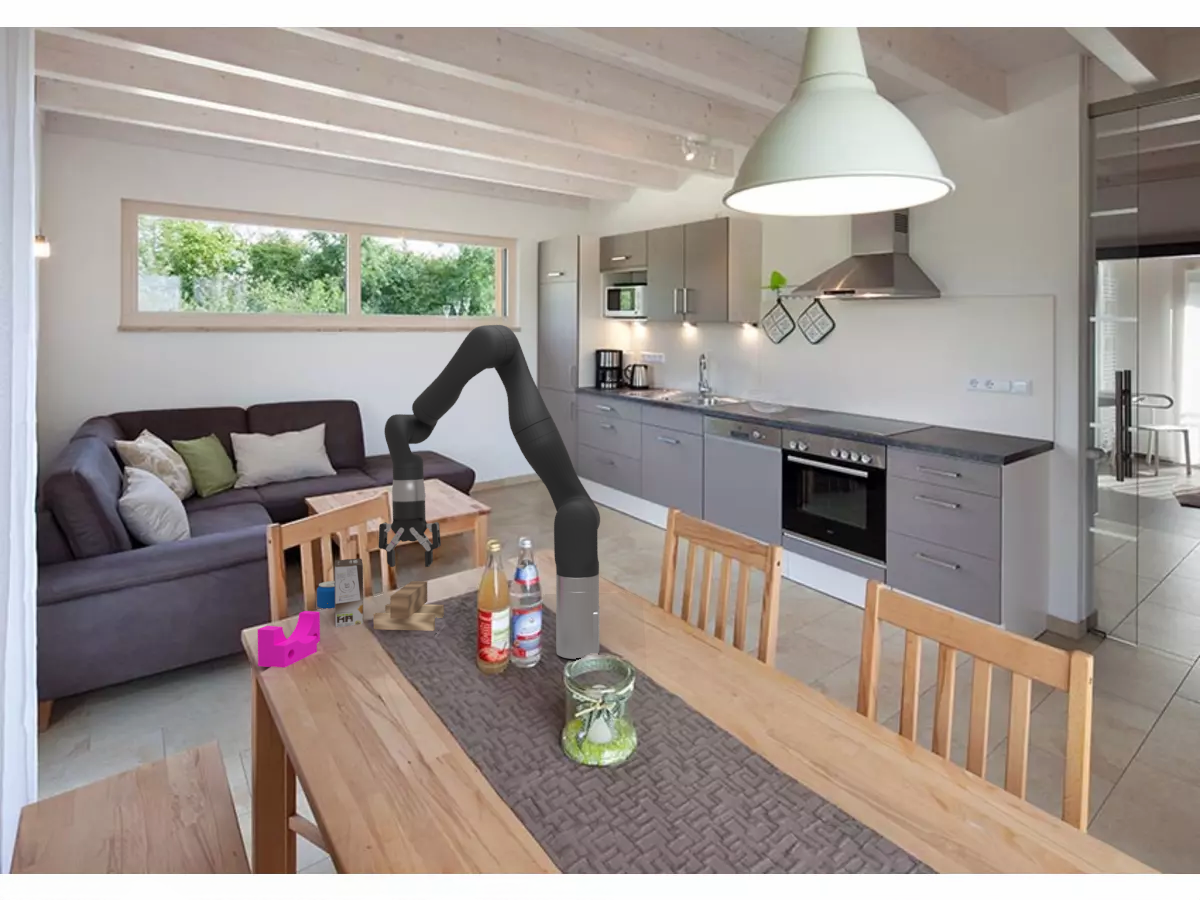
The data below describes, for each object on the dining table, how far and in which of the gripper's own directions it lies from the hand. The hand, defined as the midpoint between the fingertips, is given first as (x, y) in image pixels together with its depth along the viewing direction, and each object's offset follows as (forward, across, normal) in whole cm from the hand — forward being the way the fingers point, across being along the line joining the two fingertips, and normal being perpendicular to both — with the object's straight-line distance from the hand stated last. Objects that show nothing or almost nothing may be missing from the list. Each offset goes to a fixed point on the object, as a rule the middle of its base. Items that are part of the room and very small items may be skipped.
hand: (410, 566), depth 167 cm
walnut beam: (+10, 0, 0) cm, 10 cm away
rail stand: (+15, 0, 0) cm, 15 cm away
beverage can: (+18, -24, +9) cm, 31 cm away
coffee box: (+15, -15, +1) cm, 22 cm away
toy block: (+15, -19, -19) cm, 31 cm away
